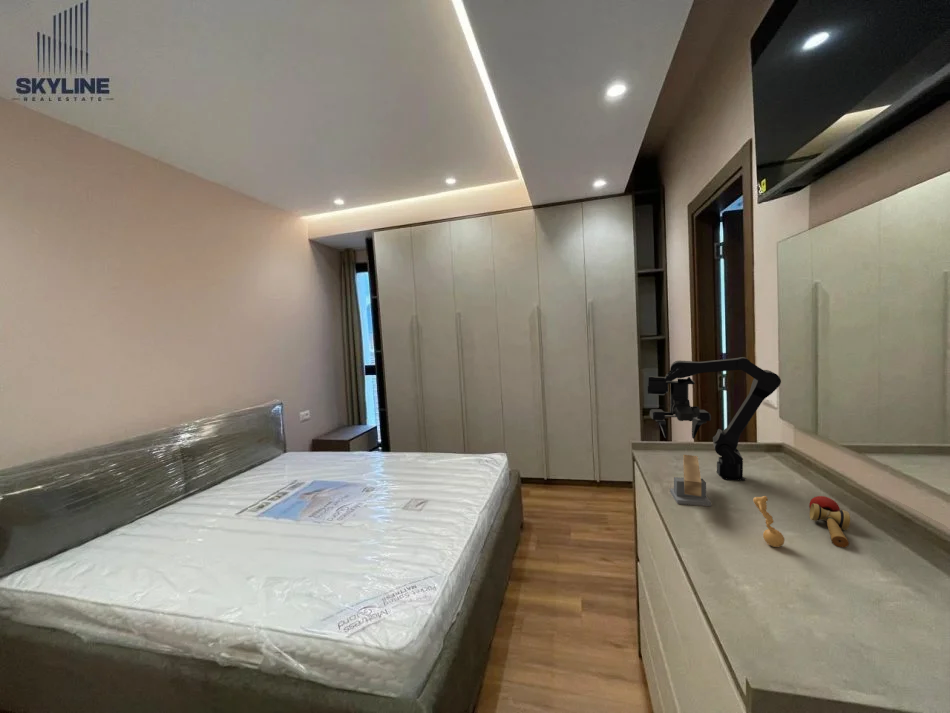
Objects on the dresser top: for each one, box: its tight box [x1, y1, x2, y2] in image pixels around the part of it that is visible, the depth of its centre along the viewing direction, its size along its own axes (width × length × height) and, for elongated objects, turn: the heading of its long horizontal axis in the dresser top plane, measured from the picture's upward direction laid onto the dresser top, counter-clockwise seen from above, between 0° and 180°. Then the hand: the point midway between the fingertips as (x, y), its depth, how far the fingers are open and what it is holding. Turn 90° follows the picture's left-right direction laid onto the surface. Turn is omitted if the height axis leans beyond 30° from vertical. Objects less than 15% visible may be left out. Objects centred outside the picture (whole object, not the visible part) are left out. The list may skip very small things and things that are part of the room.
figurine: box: [752, 495, 785, 548], centre depth 88 cm, size 8×6×12 cm
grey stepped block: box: [669, 476, 712, 507], centre depth 112 cm, size 9×8×6 cm
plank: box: [682, 454, 702, 496], centre depth 111 cm, size 4×22×4 cm, turn 151°
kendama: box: [809, 495, 851, 548], centre depth 93 cm, size 8×6×18 cm
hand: (679, 438), depth 133 cm, fingers open, 9 cm apart
